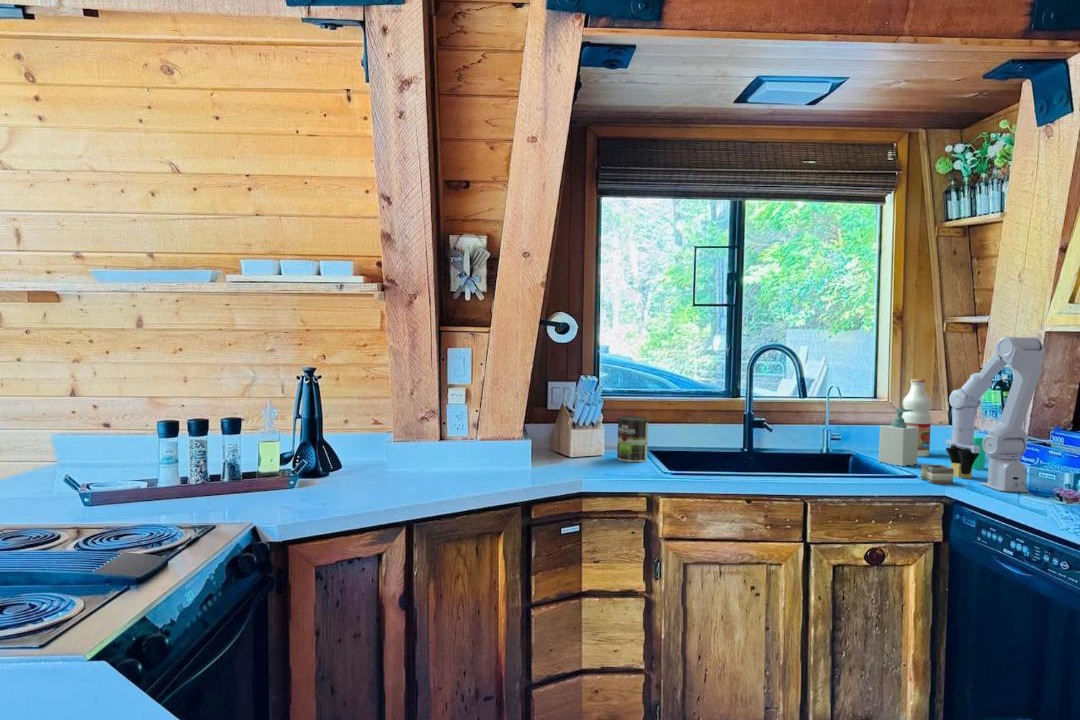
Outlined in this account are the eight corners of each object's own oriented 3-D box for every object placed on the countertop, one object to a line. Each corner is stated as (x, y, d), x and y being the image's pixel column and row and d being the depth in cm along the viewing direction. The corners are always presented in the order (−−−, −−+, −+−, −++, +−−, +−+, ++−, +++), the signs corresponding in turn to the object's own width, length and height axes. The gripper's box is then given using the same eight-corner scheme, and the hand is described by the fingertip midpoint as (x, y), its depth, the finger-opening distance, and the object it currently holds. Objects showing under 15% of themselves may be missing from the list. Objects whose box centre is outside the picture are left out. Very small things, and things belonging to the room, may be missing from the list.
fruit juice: (901, 451, 259) (904, 377, 258) (929, 454, 254) (932, 379, 253) (899, 455, 251) (902, 379, 250) (929, 458, 246) (932, 380, 245)
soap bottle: (902, 467, 228) (905, 410, 227) (878, 462, 236) (880, 407, 235) (917, 464, 233) (920, 409, 232) (893, 460, 240) (895, 406, 239)
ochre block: (971, 478, 212) (972, 465, 212) (958, 478, 212) (959, 465, 212) (963, 475, 216) (964, 463, 216) (950, 475, 216) (951, 462, 216)
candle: (988, 470, 226) (990, 433, 225) (970, 469, 226) (971, 433, 225) (977, 466, 232) (978, 431, 231) (959, 466, 232) (960, 430, 231)
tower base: (953, 483, 203) (953, 468, 203) (931, 483, 203) (932, 468, 203) (941, 479, 209) (941, 464, 209) (920, 478, 209) (921, 464, 209)
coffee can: (636, 463, 225) (637, 421, 225) (610, 459, 232) (611, 418, 231) (653, 459, 233) (654, 418, 232) (627, 455, 240) (628, 415, 239)
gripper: (937, 425, 221) (935, 467, 221) (964, 432, 206) (962, 476, 207) (959, 425, 220) (957, 467, 221) (987, 432, 206) (985, 477, 206)
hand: (961, 472), depth 214 cm, fingers closed on ochre block, 4 cm apart
